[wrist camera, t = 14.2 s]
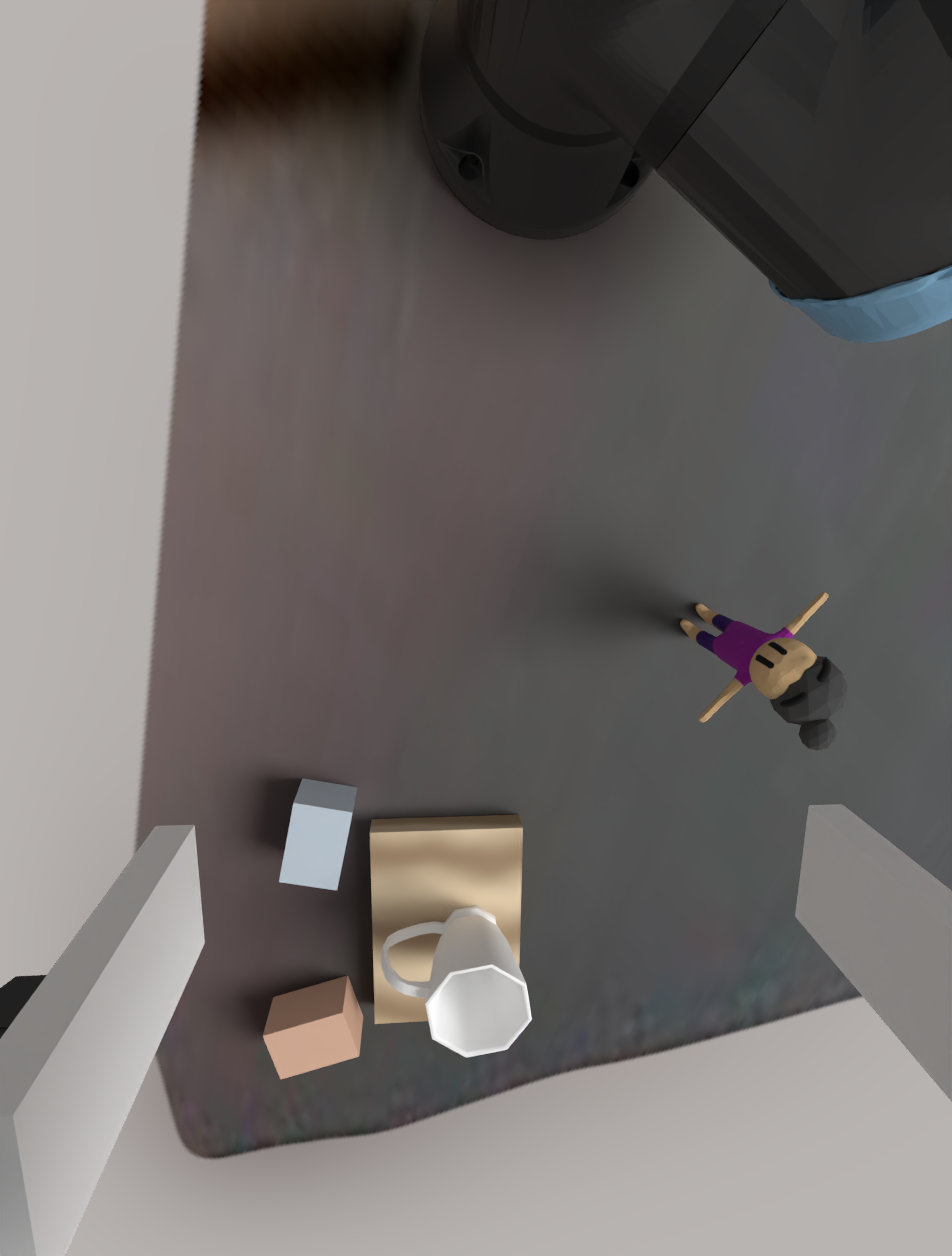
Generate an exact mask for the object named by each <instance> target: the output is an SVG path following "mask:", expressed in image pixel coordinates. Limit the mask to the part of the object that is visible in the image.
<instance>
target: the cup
mask: <svg viewBox="0 0 952 1256" xmlns="http://www.w3.org/2000/svg"><path fill="white" fill-rule="evenodd" d="M429 933H437V934H442V936H441V937H440V939H439V942H438V945H437V948H436V951H435V954H434V958H433V964H432V970H431V976H430V981H426V982H417V981H407V980H405V979H403V978H401V977H400V976H399V975H398V974H397V973H396V972H395V971H394V970H393V969H392V968H391V965H390V962H389V958H388V952H387V951H388V949H389V947H391V946H393V945H395V944H396V943H398V942H401V941H403V940H406V939H409V938H412V937H415V936H418V935H423V934H429ZM381 967H382V970H383V973H384V976H385V979H386V980H387V981H388V983H389V984H390V985H391V986H392V987H393V988H394V989H395V990H396V991H398V992H401V993H403V994H405V995H409V996H413V997H418V998H426V1002H425V1006H426V1011H427V1016H428V1020H429V1025H430V1030H431V1035H432V1039H433V1040H435V1041H437V1042H439V1043H440V1044H442V1045H444V1046H446V1047H448V1048H450V1049H451V1050H453V1051H455V1052H457V1053H459V1054H461V1055H462V1056H464V1057H466V1058H467V1057H472V1056H477V1055H482V1054H487V1053H492V1052H497V1051H502V1050H507V1049H508V1048H509V1047H510V1045H511V1044H512V1043H513V1042H514V1041H515V1039H516V1038H517V1037H518V1036H519V1034H520V1033H521V1032H522V1031H523V1030H524V1028H525V1027H526V1026H527V1025H528V1024H529V1022H530V1021H531V1020H532V1017H531V1011H530V1004H529V998H528V992H527V986H526V982H525V980H524V978H523V975H522V973H521V971H520V969H519V966H518V964H517V962H516V960H515V957H514V955H513V953H512V950H511V948H510V945H509V943H508V941H507V939H506V938H505V936H504V935H503V933H502V932H501V930H500V929H499V927H498V926H497V925H496V920H495V916H493V915H492V914H490V913H488V912H487V911H485V910H483V909H482V908H480V907H478V906H472V907H466V908H461V909H456V910H454V911H453V912H452V913H451V915H450V916H449V917H448V919H447V920H446V921H445V922H444V923H443V922H436V921H434V922H426V923H420V924H417V925H413V926H410V927H407V928H404V929H401V930H398V931H396V932H395V933H393V934H391V935H390V936H388V937H387V939H386V941H385V943H384V945H383V948H382V952H381Z"/></svg>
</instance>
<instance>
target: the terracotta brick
mask: <svg viewBox="0 0 952 1256" xmlns="http://www.w3.org/2000/svg"><path fill="white" fill-rule="evenodd" d="M362 1023H363V1015H362V1012H361V1010H360V1007H359V1004H358V1002H357V999H356V996H355V994H354V991H353V988H352V985H351V983H350V980H349V977H348V975H347V976H344V977H340V978H337V979H334V980H330V981H327V982H323V983H320V984H317V985H313V986H310V987H306V988H303V989H300V990H296V991H293V992H289V993H286V994H282V995H279V996H276V997H273V1000H272V1004H271V1008H270V1011H269V1015H268V1019H267V1022H266V1026H265V1030H264V1033H263V1038H264V1040H265V1043H266V1045H267V1048H268V1050H269V1052H270V1055H271V1057H272V1060H273V1062H274V1064H275V1067H276V1069H277V1072H278V1074H279V1076H280V1079H284V1078H287V1077H291V1076H294V1075H298V1074H301V1073H304V1072H308V1071H311V1070H315V1069H318V1068H321V1067H325V1066H328V1065H332V1064H335V1063H338V1062H342V1061H345V1060H349V1059H352V1058H355V1057H359V1053H360V1043H361V1033H362Z"/></svg>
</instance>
